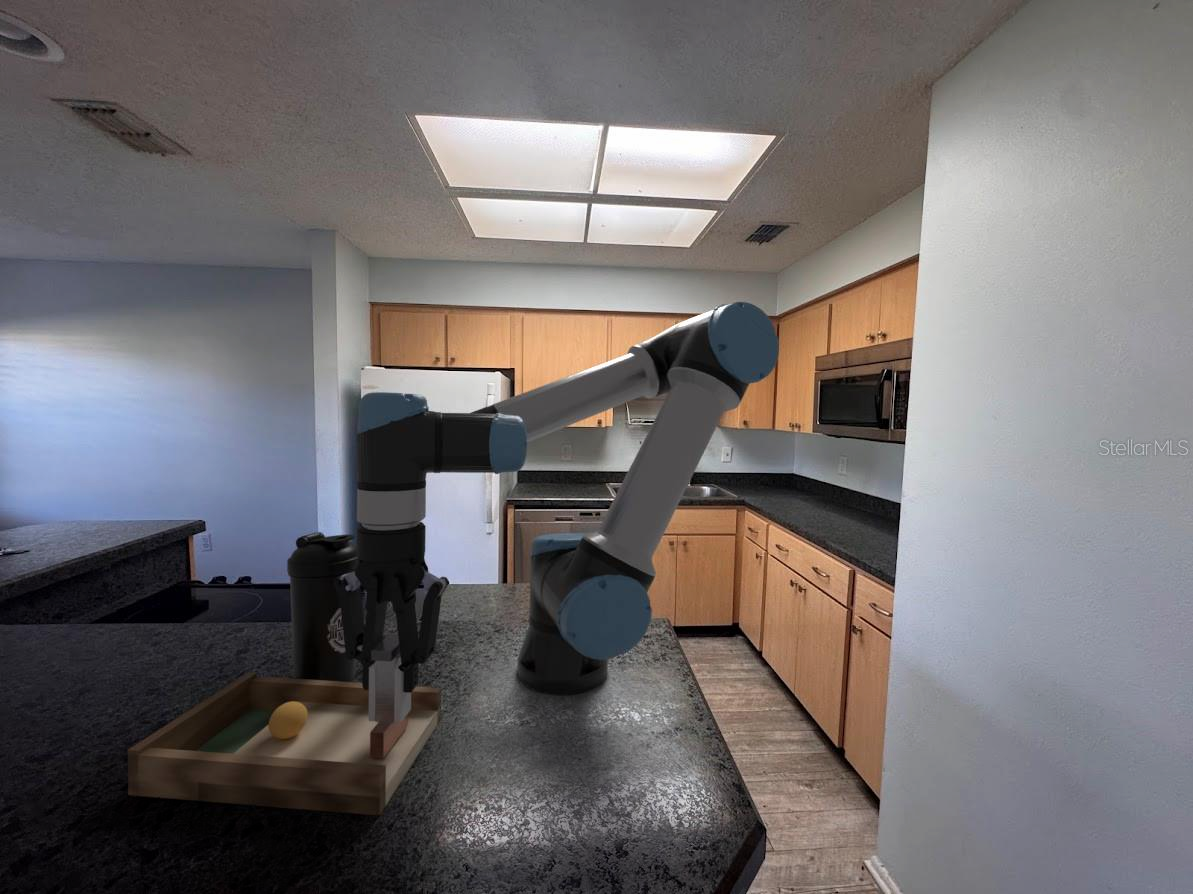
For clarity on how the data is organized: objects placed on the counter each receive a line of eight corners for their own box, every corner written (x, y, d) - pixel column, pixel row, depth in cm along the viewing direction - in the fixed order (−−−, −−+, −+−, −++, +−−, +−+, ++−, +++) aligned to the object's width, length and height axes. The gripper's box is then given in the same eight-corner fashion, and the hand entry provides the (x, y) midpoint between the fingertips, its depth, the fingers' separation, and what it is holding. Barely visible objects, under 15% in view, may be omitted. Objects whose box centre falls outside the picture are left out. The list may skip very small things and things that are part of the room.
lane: (440, 719, 64) (441, 684, 64) (379, 815, 48) (379, 768, 48) (248, 706, 66) (248, 672, 66) (128, 795, 50) (127, 749, 50)
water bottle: (328, 702, 68) (329, 545, 67) (270, 692, 70) (270, 540, 69) (375, 667, 78) (376, 531, 77) (322, 659, 80) (323, 526, 79)
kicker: (410, 725, 59) (412, 631, 59) (386, 758, 53) (387, 654, 53) (392, 724, 59) (393, 630, 59) (366, 757, 53) (367, 653, 53)
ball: (314, 726, 59) (314, 695, 59) (292, 748, 55) (292, 715, 55) (284, 724, 59) (284, 693, 59) (260, 745, 55) (260, 712, 55)
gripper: (466, 519, 59) (463, 701, 59) (348, 514, 60) (347, 693, 60) (443, 532, 51) (440, 740, 52) (308, 526, 52) (307, 730, 53)
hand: (390, 714), depth 56 cm, fingers closed on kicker, 2 cm apart
